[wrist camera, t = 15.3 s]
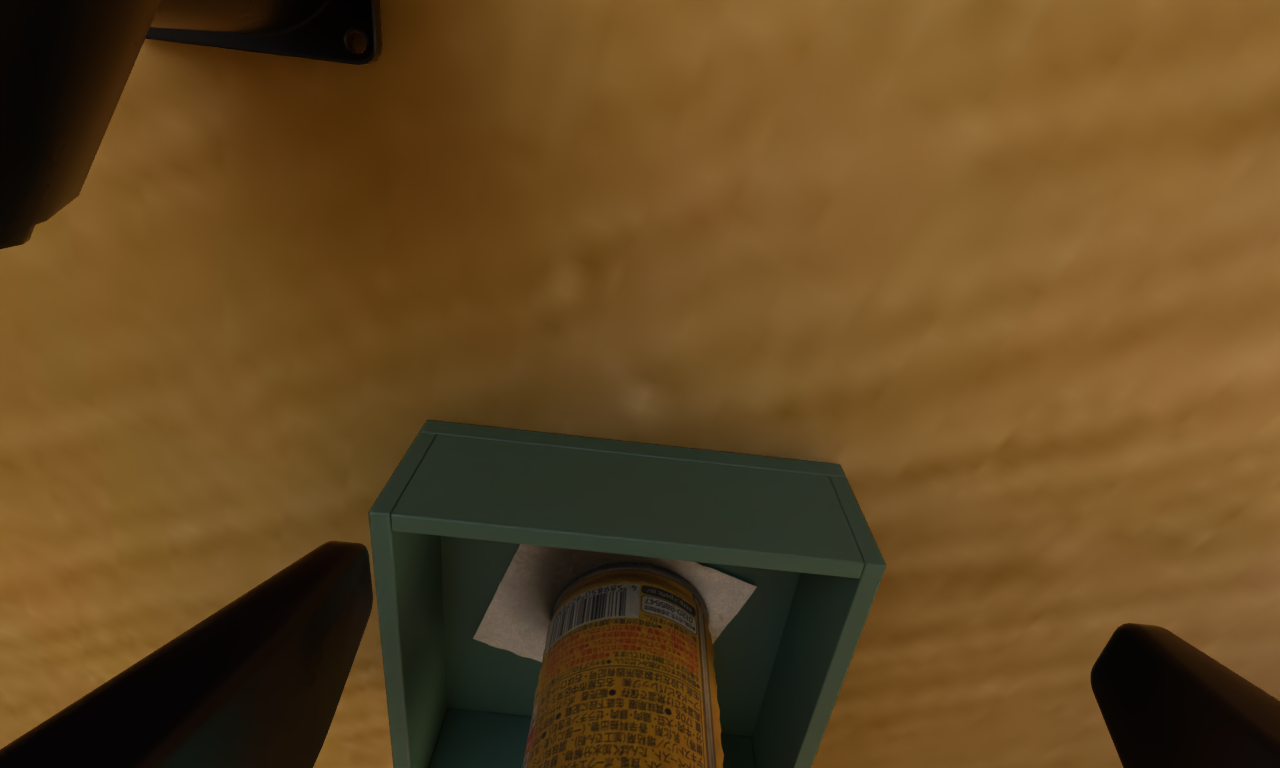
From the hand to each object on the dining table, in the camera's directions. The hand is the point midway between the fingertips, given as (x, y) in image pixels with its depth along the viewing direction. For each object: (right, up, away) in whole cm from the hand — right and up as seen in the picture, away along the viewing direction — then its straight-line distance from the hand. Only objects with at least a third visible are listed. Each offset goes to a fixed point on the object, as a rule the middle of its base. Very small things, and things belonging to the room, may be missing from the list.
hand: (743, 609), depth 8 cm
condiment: (-2, -6, +17) cm, 18 cm away
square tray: (-2, -6, +17) cm, 18 cm away
